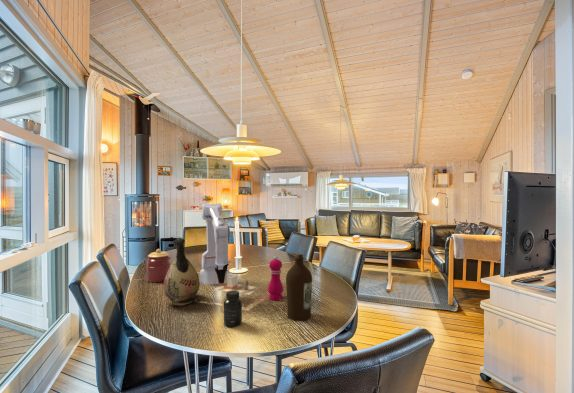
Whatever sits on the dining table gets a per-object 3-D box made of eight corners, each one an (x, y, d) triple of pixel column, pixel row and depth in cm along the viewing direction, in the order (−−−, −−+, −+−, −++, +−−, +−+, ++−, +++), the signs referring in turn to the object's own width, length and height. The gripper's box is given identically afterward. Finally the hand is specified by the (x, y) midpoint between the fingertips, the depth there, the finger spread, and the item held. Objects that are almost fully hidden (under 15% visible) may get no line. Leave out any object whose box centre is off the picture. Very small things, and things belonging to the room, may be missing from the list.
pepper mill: (271, 302, 134) (271, 258, 134) (265, 297, 141) (265, 255, 141) (285, 299, 138) (286, 256, 138) (279, 294, 144) (279, 254, 144)
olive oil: (281, 318, 117) (281, 255, 117) (293, 309, 126) (293, 250, 126) (305, 324, 112) (305, 258, 112) (316, 314, 121) (316, 253, 121)
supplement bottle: (224, 320, 115) (224, 289, 115) (242, 319, 116) (242, 289, 116) (222, 328, 108) (222, 295, 108) (241, 327, 109) (241, 295, 109)
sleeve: (215, 286, 134) (215, 273, 133) (216, 282, 138) (216, 270, 138) (227, 285, 134) (227, 272, 134) (227, 282, 139) (227, 269, 139)
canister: (159, 283, 162) (159, 251, 161) (140, 281, 166) (140, 250, 166) (175, 277, 174) (175, 247, 174) (157, 275, 178) (157, 246, 178)
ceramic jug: (163, 299, 138) (163, 235, 138) (197, 294, 144) (197, 233, 144) (163, 312, 123) (163, 240, 122) (202, 306, 129) (202, 238, 128)
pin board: (213, 292, 147) (213, 280, 147) (227, 285, 159) (227, 274, 158) (249, 297, 140) (249, 285, 140) (260, 290, 151) (260, 278, 151)
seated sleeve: (223, 288, 149) (223, 276, 149) (229, 285, 154) (229, 273, 154) (232, 289, 147) (232, 277, 147) (237, 286, 152) (237, 274, 152)
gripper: (229, 254, 130) (229, 285, 130) (231, 248, 144) (231, 276, 144) (213, 255, 129) (213, 286, 129) (216, 249, 143) (216, 277, 143)
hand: (221, 281), depth 136 cm, fingers closed on sleeve, 5 cm apart
